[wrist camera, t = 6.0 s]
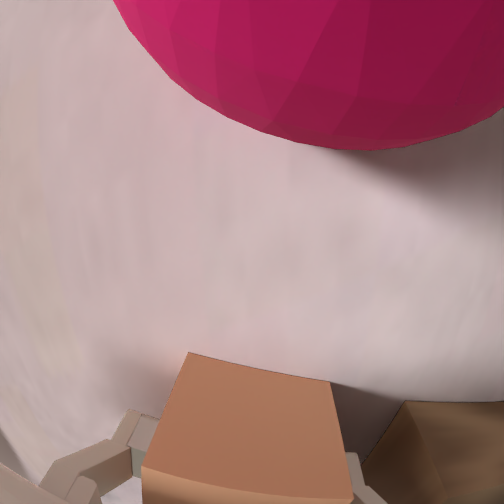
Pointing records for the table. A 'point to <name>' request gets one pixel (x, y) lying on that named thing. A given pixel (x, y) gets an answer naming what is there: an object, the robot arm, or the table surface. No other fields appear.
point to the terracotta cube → (246, 440)
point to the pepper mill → (332, 64)
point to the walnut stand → (440, 455)
